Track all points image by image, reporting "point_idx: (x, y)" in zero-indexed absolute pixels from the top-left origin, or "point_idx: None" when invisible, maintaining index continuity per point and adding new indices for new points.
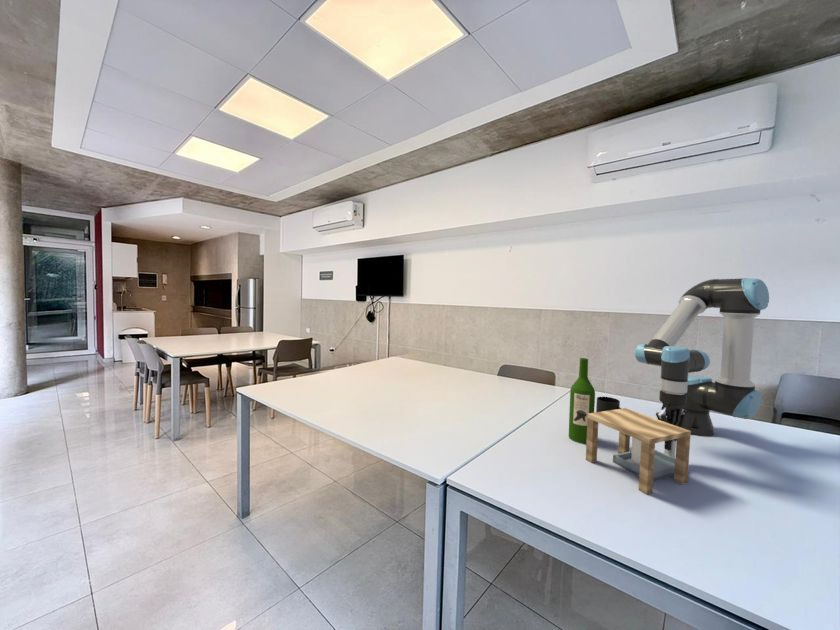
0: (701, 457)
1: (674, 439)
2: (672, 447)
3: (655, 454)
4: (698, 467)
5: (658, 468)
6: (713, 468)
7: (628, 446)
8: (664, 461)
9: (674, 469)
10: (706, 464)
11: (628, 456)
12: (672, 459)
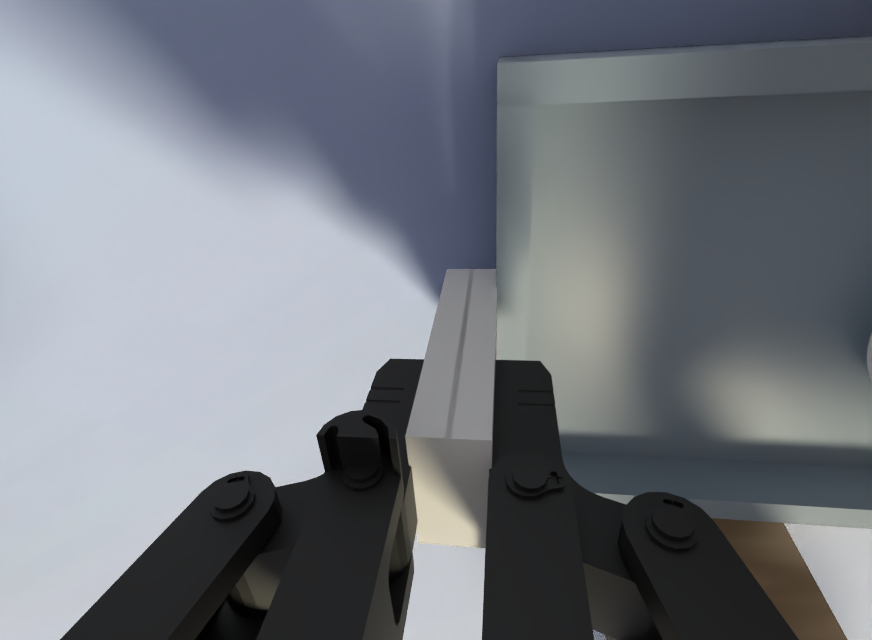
0: (35, 246)
1: (400, 480)
2: (494, 371)
3: None
4: (255, 94)
5: (867, 204)
6: (86, 11)
7: None
8: (570, 297)
9: (841, 42)
10: (96, 118)
11: (868, 479)
12: (529, 258)
